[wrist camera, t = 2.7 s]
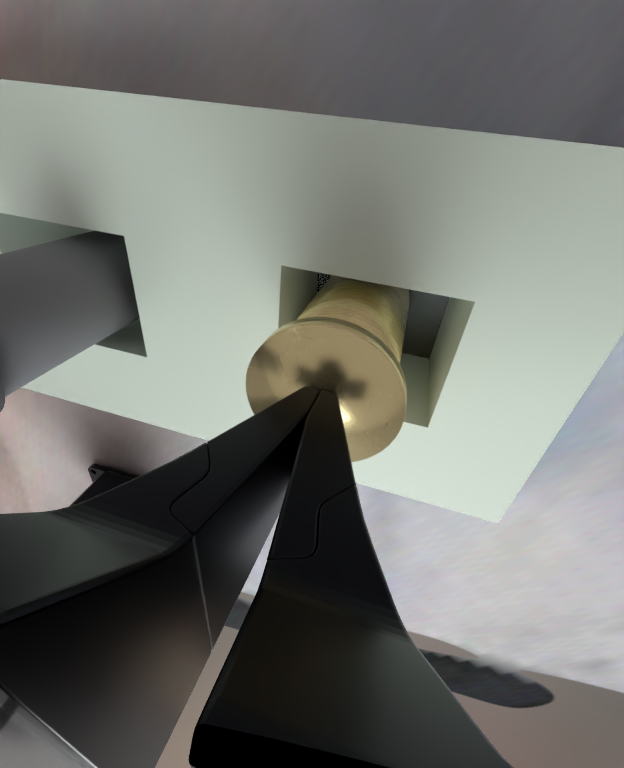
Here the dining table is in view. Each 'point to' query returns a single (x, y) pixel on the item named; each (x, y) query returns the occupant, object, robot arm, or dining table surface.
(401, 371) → the brass plug
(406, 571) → the dining table surface
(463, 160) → the block
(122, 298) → the graphite plug
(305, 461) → the robot arm
